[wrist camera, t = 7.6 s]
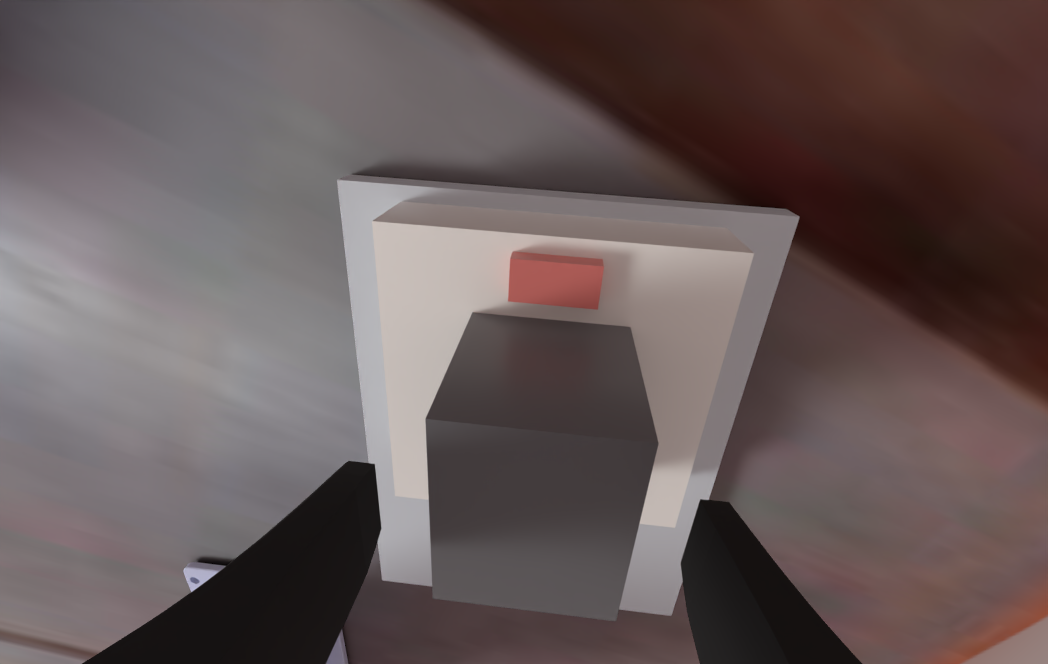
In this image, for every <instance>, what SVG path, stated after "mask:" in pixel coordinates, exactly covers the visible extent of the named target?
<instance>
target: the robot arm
mask: <svg viewBox="0 0 1048 664" xmlns="http://www.w3.org/2000/svg"><path fill="white" fill-rule="evenodd" d="M381 529H382V528H381V518H380V509H379V499H378V489H377V480H376V470H375V464H371V463H362V462H353V461H348V462H347V463H345V464H344V465H343V466H342V467H341V468H340V469H338V470H337V471H336V472H335V473H334V474H333V475H332V476H331V477H330V478H329V479H327V480H326V481H325V482H324V483H323V484H322V485H321V486H320V487H319V488H318V489H317V490H315V491H314V492H313V493H312V494H311V495H310V496H309V497H308V498H307V499H305V500H304V501H303V502H302V503H301V504H300V505H299V506H298V507H297V508H295V509H294V510H293V511H292V512H291V513H290V514H288V515H287V516H286V517H285V518H284V519H283V520H282V521H280V522H279V523H278V524H277V525H276V526H275V527H273V528H272V529H271V530H270V531H269V532H268V533H266V534H265V535H264V536H263V537H262V538H261V539H259V540H258V541H257V542H256V543H254V544H253V545H252V546H251V547H249V548H248V549H247V550H246V551H244V552H243V553H242V554H241V555H239V556H238V557H237V558H236V559H234V560H233V561H232V562H231V563H229V564H228V565H227V566H224V565H216V564H208V563H199V562H191V563H189V564H188V565H187V566H186V567H185V569H184V574H185V577H186V580H187V582H188V585H189V587H190V590H191V593H189V594H188V595H187V596H185V597H184V598H182V599H181V600H180V601H178V602H177V603H175V604H174V605H172V606H171V607H170V608H168V609H167V610H165V611H164V612H162V613H161V614H159V615H158V616H156V617H155V618H153V619H152V620H150V621H149V622H147V623H146V624H144V625H143V626H141V627H140V628H138V629H136V630H135V631H133V632H132V633H130V634H129V635H127V636H125V637H124V638H122V639H121V640H119V641H117V642H116V643H114V644H113V645H111V646H110V647H108V648H106V649H105V650H103V651H102V652H100V653H99V654H97V655H95V656H94V657H92V658H91V659H89V660H87V661H86V662H84V663H82V664H348V659H347V654H346V648H345V643H344V637H343V632H342V628H343V625H344V623H345V621H346V619H347V617H348V614H349V612H350V610H351V608H352V606H353V603H354V601H355V599H356V597H357V595H358V592H359V590H360V588H361V586H362V584H363V581H364V579H365V577H366V574H367V572H368V569H369V566H370V563H371V560H372V557H373V554H374V551H375V548H376V545H377V541H378V538H379V535H380V532H381ZM681 571H682V579H683V586H684V594H685V600H686V607H687V613H688V617H689V621H690V626H691V630H692V634H693V638H694V642H695V646H696V650H697V654H698V657H699V661H700V664H862V663H861V662H860V661H859V660H858V659H857V658H856V657H855V656H854V655H853V653H852V652H851V651H850V650H849V649H848V648H847V647H846V646H845V645H844V643H843V642H842V641H841V640H840V639H839V638H838V637H837V636H836V634H835V633H834V632H833V631H832V630H831V629H830V628H829V627H828V626H827V624H826V623H825V622H824V621H823V620H822V619H821V617H820V616H819V615H818V614H817V613H816V612H815V610H814V609H813V608H812V607H811V606H810V604H809V603H808V602H807V601H806V600H805V598H804V597H803V596H802V595H801V594H800V592H799V591H798V590H797V589H796V587H795V586H794V585H793V584H792V583H791V581H790V580H789V579H788V578H787V576H786V575H785V574H784V573H783V571H782V570H781V569H780V568H779V566H778V565H777V564H776V563H775V561H774V560H773V559H772V558H771V556H770V555H769V554H768V552H767V551H766V550H765V549H764V547H763V546H762V545H761V543H760V542H759V541H758V539H757V538H756V537H755V536H754V534H753V533H752V532H751V530H750V529H749V528H748V526H747V525H746V524H745V522H744V521H743V520H742V519H741V517H740V516H739V515H738V513H737V512H736V511H735V510H734V508H733V507H732V506H731V504H730V503H729V502H722V501H713V500H703V499H700V501H699V504H698V508H697V511H696V514H695V517H694V521H693V524H692V527H691V530H690V534H689V537H688V540H687V543H686V547H685V550H684V553H683V556H682V560H681Z"/></svg>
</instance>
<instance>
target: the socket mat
mask: <svg viewBox="0 0 1048 664" xmlns="http://www.w3.org/2000/svg"><path fill="white" fill-rule="evenodd" d="M337 183H338V192H339V201H340V210H341V219H342V228H343V237H344V246H345V255H346V263H347V272H348V281H349V290H350V299H351V308H352V317H353V326H354V334H355V343H356V352H357V361H358V370H359V379H360V388H361V397H362V406H363V414H364V423H365V432H366V441H367V450H368V459H369V463H371V464H375V470H376V480H377V489H378V499H379V509H380V518H381V528H382V529H381V532H380V535H379V538H378V548H379V557H380V565H381V574H382V580H383V581H391V582H399V583H407V584H415V585H424V586H432V569H431V544H430V520H429V500H425V499H416V498H407V497H399V496H395V490H394V478H393V466H392V454H391V442H390V430H389V418H388V406H387V394H386V383H385V371H384V359H383V347H382V335H381V323H380V311H379V299H378V287H377V275H376V263H375V251H374V239H373V227H372V221H373V220H374V219H376V218H377V217H379V216H380V215H382V214H383V213H385V212H386V211H388V210H389V209H391V208H392V207H394V206H395V205H397V204H398V203H400V202H401V201H404V202H416V203H428V204H441V205H453V206H465V207H477V208H490V209H502V210H514V211H526V212H539V213H551V214H563V215H575V216H588V217H600V218H612V219H624V220H637V221H649V222H661V223H673V224H686V225H698V226H710V227H722V228H727V229H728V230H729V231H731V232H732V233H733V234H734V235H735V236H736V237H737V238H738V239H739V240H740V241H741V242H743V243H744V244H745V245H746V246H747V247H748V248H749V249H750V250H751V251H752V252H753V253H754V256H753V259H752V263H751V266H750V270H749V273H748V277H747V280H746V284H745V287H744V290H743V294H742V297H741V301H740V304H739V308H738V311H737V315H736V318H735V322H734V325H733V329H732V332H731V336H730V339H729V342H728V346H727V349H726V353H725V356H724V360H723V363H722V367H721V370H720V374H719V377H718V381H717V384H716V387H715V391H714V394H713V398H712V401H711V405H710V408H709V412H708V415H707V419H706V422H705V426H704V429H703V433H702V436H701V439H700V443H699V446H698V450H697V453H696V457H695V460H694V464H693V467H692V471H691V474H690V478H689V481H688V484H687V488H686V491H685V495H684V498H683V502H682V505H681V509H680V512H679V516H678V519H677V523H676V526H675V528H672V527H663V526H654V525H645V524H639V528H638V532H637V536H636V540H635V544H634V548H633V553H632V557H631V561H630V565H629V569H628V573H627V578H626V582H625V586H624V590H623V594H622V599H621V603H620V607H619V610H627V611H635V612H644V613H652V614H660V615H668V616H671V615H672V612H673V609H674V606H675V603H676V600H677V597H678V594H679V590H680V587H681V584H682V581H683V579H682V571H681V560H682V556H683V553H684V550H685V547H686V543H687V540H688V537H689V534H690V530H691V527H692V524H693V521H694V517H695V514H696V511H697V508H698V504H699V501H700V499H703V500H709V497H710V494H711V491H712V488H713V485H714V482H715V479H716V475H717V472H718V469H719V466H720V463H721V460H722V457H723V454H724V451H725V447H726V444H727V441H728V438H729V435H730V432H731V429H732V426H733V423H734V419H735V416H736V413H737V410H738V407H739V404H740V401H741V398H742V395H743V392H744V388H745V385H746V382H747V379H748V376H749V373H750V370H751V367H752V364H753V360H754V357H755V354H756V351H757V348H758V345H759V342H760V339H761V336H762V332H763V329H764V326H765V323H766V320H767V317H768V314H769V311H770V308H771V304H772V301H773V298H774V295H775V292H776V289H777V286H778V283H779V280H780V276H781V273H782V270H783V267H784V264H785V261H786V258H787V255H788V252H789V249H790V245H791V242H792V239H793V236H794V233H795V230H796V227H797V224H798V221H799V216H798V215H796V214H794V213H792V212H791V211H789V210H787V209H779V208H766V207H754V206H741V205H728V204H716V203H703V202H690V201H678V200H665V199H653V198H640V197H627V196H615V195H602V194H589V193H577V192H564V191H552V190H539V189H526V188H514V187H501V186H488V185H476V184H463V183H451V182H438V181H425V180H413V179H400V178H387V177H375V176H362V175H348V176H345V177H343V178H340V179H338V180H337Z"/></svg>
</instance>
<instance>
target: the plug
mask: <svg viewBox="0 0 1048 664" xmlns="http://www.w3.org/2000/svg"><path fill="white" fill-rule="evenodd" d="M425 422H426V446H427V471H428V495H429V520H430V544H431V569H432V593H433V599H439V600H448V601H456V602H464V603H472V604H480V605H488V606H496V607H504V608H512V609H520V610H528V611H536V612H544V613H552V614H560V615H569V616H577V617H585V618H593V619H601V620H609V621H616V619H617V615H618V611H619V607H620V603H621V599H622V594H623V590H624V586H625V582H626V578H627V573H628V569H629V565H630V561H631V557H632V553H633V548H634V544H635V540H636V536H637V532H638V528H639V523H640V519H641V515H642V511H643V507H644V502H645V498H646V494H647V490H648V486H649V482H650V477H651V473H652V469H653V465H654V461H655V456H656V452H657V448H658V444H659V443H658V439H657V435H656V430H655V426H654V422H653V418H652V414H651V410H650V406H649V401H648V397H647V393H646V389H645V385H644V381H643V377H642V372H641V368H640V364H639V360H638V356H637V352H636V348H635V344H634V339H633V335H632V331H631V327H626V326H615V325H604V324H594V323H583V322H572V321H561V320H550V319H540V318H529V317H518V316H507V315H496V314H486V313H475V312H472V314H471V317H470V319H469V321H468V323H467V326H466V328H465V330H464V332H463V335H462V337H461V339H460V342H459V344H458V346H457V348H456V351H455V353H454V355H453V357H452V360H451V362H450V364H449V367H448V369H447V371H446V373H445V376H444V378H443V380H442V382H441V385H440V387H439V389H438V391H437V394H436V396H435V398H434V401H433V403H432V405H431V407H430V410H429V412H428V414H427V416H426V419H425Z"/></svg>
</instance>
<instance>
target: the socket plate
mask: <svg viewBox="0 0 1048 664" xmlns="http://www.w3.org/2000/svg"><path fill="white" fill-rule="evenodd" d="M372 227H373V239H374V251H375V263H376V275H377V287H378V299H379V311H380V323H381V335H382V347H383V359H384V371H385V383H386V394H387V406H388V418H389V430H390V442H391V454H392V466H393V478H394V490H395V496H399V497H407V498H416V499H425V500H429V495H428V471H427V446H426V422H425V419H426V416H427V414H428V412H429V410H430V407H431V405H432V403H433V401H434V398H435V396H436V394H437V391H438V389H439V387H440V385H441V382H442V380H443V378H444V376H445V373H446V371H447V369H448V367H449V364H450V362H451V360H452V357H453V355H454V353H455V351H456V348H457V346H458V344H459V342H460V339H461V337H462V335H463V332H464V330H465V328H466V326H467V323H468V321H469V319H470V317H471V314H472V312H475V313H486V314H496V315H507V316H518V317H529V318H540V319H550V320H561V321H572V322H583V323H594V324H604V325H615V326H626V327H631V331H632V335H633V339H634V344H635V348H636V352H637V356H638V360H639V364H640V368H641V372H642V377H643V381H644V385H645V389H646V393H647V397H648V401H649V406H650V410H651V414H652V418H653V422H654V426H655V430H656V435H657V439H658V443H659V444H658V448H657V452H656V456H655V461H654V465H653V469H652V473H651V477H650V482H649V486H648V490H647V494H646V498H645V502H644V507H643V511H642V515H641V519H640V523H639V524H645V525H654V526H663V527H672V528H675V526H676V523H677V519H678V516H679V512H680V509H681V505H682V502H683V498H684V495H685V491H686V488H687V484H688V481H689V478H690V474H691V471H692V467H693V464H694V460H695V457H696V453H697V450H698V446H699V443H700V439H701V436H702V433H703V429H704V426H705V422H706V419H707V415H708V412H709V408H710V405H711V401H712V398H713V394H714V391H715V387H716V384H717V381H718V377H719V374H720V370H721V367H722V363H723V360H724V356H725V353H726V349H727V346H728V342H729V339H730V336H731V332H732V329H733V325H734V322H735V318H736V315H737V311H738V308H739V304H740V301H741V297H742V294H743V290H744V287H745V284H746V280H747V277H748V273H749V270H750V266H751V263H752V259H753V256H754V253H753V252H752V251H751V250H750V249H749V248H748V247H747V246H746V245H745V244H744V243H743V242H741V241H740V240H739V239H738V238H737V237H736V236H735V235H734V234H733V233H732V232H731V231H729V230H728V229H727V228H722V227H710V226H698V225H686V224H673V223H661V222H649V221H637V220H624V219H612V218H600V217H588V216H575V215H563V214H551V213H539V212H526V211H514V210H502V209H490V208H477V207H465V206H453V205H441V204H428V203H416V202H404V201H401V202H400V203H398V204H397V205H395V206H394V207H392V208H391V209H389V210H388V211H386V212H385V213H383V214H382V215H380V216H379V217H377V218H376V219H374V220H373V221H372Z"/></svg>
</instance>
